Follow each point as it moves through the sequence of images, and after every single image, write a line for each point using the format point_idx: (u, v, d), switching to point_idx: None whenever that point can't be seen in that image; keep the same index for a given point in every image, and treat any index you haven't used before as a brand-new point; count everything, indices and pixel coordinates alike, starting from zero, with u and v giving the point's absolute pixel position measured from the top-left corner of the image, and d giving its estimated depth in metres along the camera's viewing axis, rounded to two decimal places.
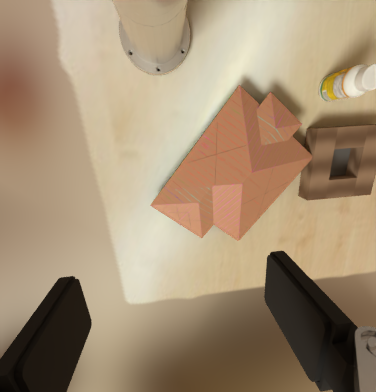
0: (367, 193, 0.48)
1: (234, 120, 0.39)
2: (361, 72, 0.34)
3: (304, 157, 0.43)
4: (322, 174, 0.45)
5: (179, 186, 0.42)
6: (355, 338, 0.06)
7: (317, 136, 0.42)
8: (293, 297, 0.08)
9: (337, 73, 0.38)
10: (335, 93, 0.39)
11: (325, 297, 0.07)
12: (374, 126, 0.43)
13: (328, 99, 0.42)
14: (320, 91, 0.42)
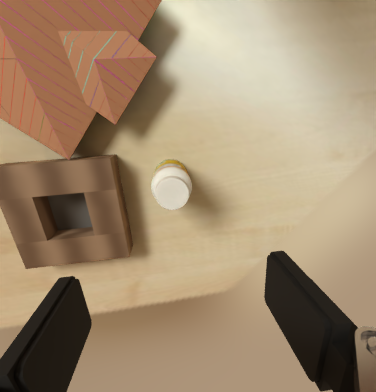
0: (26, 263, 0.31)
1: None
2: (178, 177, 0.23)
3: (62, 140, 0.26)
4: (38, 184, 0.27)
5: None
6: (355, 338, 0.06)
7: (97, 159, 0.27)
8: (293, 297, 0.08)
9: (184, 168, 0.28)
10: (158, 168, 0.27)
11: (325, 297, 0.07)
12: (124, 240, 0.31)
13: (154, 171, 0.30)
14: (165, 160, 0.30)
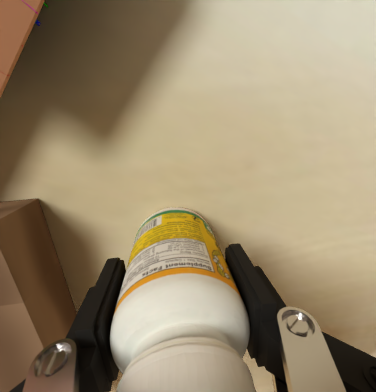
0: None
1: None
2: (218, 363, 0.05)
3: None
4: None
5: None
6: (277, 316, 0.07)
7: None
8: (239, 284, 0.09)
9: (213, 245, 0.10)
10: (140, 254, 0.09)
11: (261, 282, 0.08)
12: None
13: (134, 242, 0.12)
14: (161, 212, 0.12)
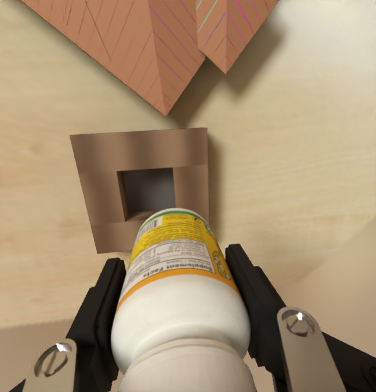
0: (99, 247, 0.28)
1: None
2: (219, 365, 0.05)
3: (164, 90, 0.22)
4: (125, 156, 0.24)
5: None
6: (277, 316, 0.07)
7: (193, 128, 0.24)
8: (239, 284, 0.09)
9: (214, 245, 0.10)
10: (141, 255, 0.09)
11: (261, 282, 0.08)
12: None
13: (135, 243, 0.12)
14: (162, 213, 0.12)
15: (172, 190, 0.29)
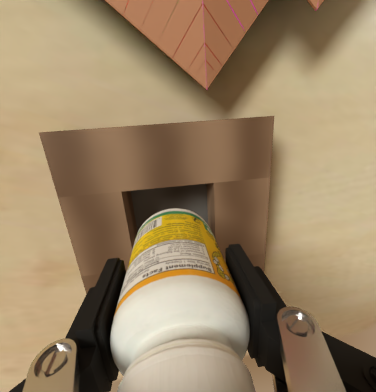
0: None
1: None
2: (218, 365, 0.05)
3: (209, 39, 0.12)
4: (137, 166, 0.14)
5: None
6: (277, 316, 0.07)
7: (251, 118, 0.14)
8: (239, 284, 0.09)
9: (213, 246, 0.10)
10: (141, 255, 0.09)
11: (261, 282, 0.08)
12: (261, 266, 0.18)
13: (134, 243, 0.12)
14: (161, 213, 0.12)
15: (204, 214, 0.20)
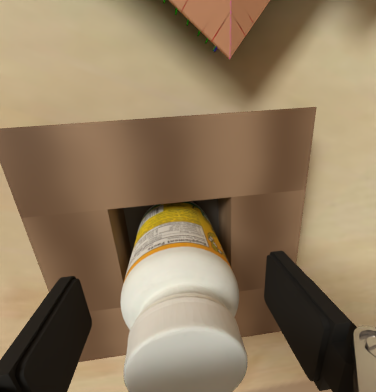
0: None
1: None
2: (210, 310, 0.06)
3: None
4: (128, 176, 0.10)
5: None
6: (354, 338, 0.06)
7: (285, 110, 0.10)
8: (292, 297, 0.08)
9: (209, 228, 0.11)
10: (145, 235, 0.10)
11: (324, 297, 0.07)
12: None
13: (139, 228, 0.13)
14: None
15: (215, 232, 0.16)
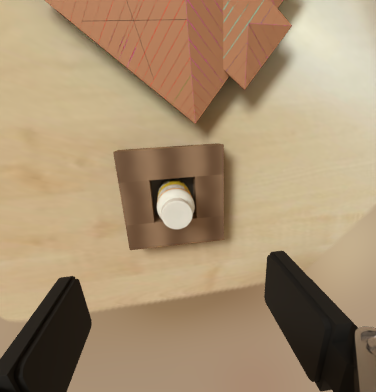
0: (131, 244, 0.33)
1: None
2: (183, 200, 0.25)
3: (196, 103, 0.27)
4: (157, 168, 0.30)
5: None
6: (355, 338, 0.06)
7: (212, 145, 0.29)
8: (293, 297, 0.08)
9: (186, 188, 0.31)
10: (163, 188, 0.29)
11: (325, 297, 0.07)
12: (222, 223, 0.33)
13: (159, 190, 0.32)
14: (168, 180, 0.33)
15: (191, 195, 0.35)
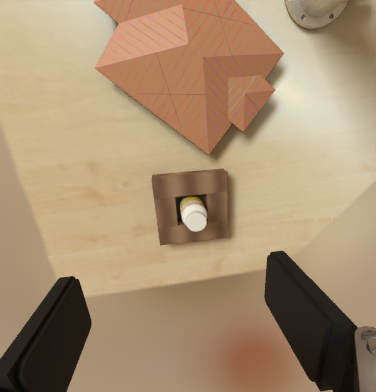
0: (161, 241, 0.46)
1: (254, 43, 0.35)
2: (200, 212, 0.38)
3: (209, 142, 0.40)
4: (180, 188, 0.42)
5: None
6: (355, 338, 0.06)
7: (219, 172, 0.42)
8: (293, 297, 0.08)
9: (201, 202, 0.43)
10: (185, 203, 0.42)
11: (325, 297, 0.07)
12: (226, 226, 0.46)
13: (181, 203, 0.45)
14: None
15: None
